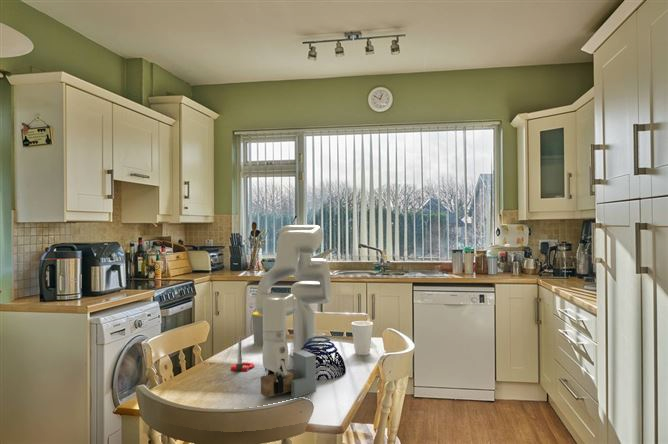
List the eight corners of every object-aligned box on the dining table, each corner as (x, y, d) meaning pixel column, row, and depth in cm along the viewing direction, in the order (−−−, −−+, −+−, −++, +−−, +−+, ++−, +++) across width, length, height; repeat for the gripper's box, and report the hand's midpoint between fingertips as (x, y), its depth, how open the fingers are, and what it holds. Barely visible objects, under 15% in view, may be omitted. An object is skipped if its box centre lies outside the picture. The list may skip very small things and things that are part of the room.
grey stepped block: (279, 389, 153) (279, 353, 153) (301, 383, 158) (301, 349, 158) (294, 397, 145) (294, 360, 145) (317, 391, 151) (317, 355, 151)
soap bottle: (284, 341, 218) (284, 297, 219) (272, 348, 206) (272, 301, 206) (260, 339, 222) (259, 296, 223) (247, 346, 210) (247, 300, 210)
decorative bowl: (340, 362, 183) (340, 327, 183) (350, 378, 163) (350, 339, 164) (291, 365, 180) (291, 329, 180) (295, 382, 160) (295, 341, 160)
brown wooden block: (292, 385, 153) (292, 368, 153) (299, 388, 150) (299, 371, 150) (260, 393, 145) (260, 376, 146) (266, 397, 142) (266, 379, 142)
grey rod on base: (237, 364, 183) (228, 370, 173) (237, 332, 183) (228, 336, 174) (256, 365, 181) (249, 371, 172) (257, 333, 182) (249, 337, 173)
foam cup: (353, 349, 202) (352, 320, 202) (373, 350, 200) (373, 321, 201) (350, 355, 192) (350, 325, 193) (372, 356, 191) (371, 325, 191)
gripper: (298, 338, 142) (298, 396, 142) (272, 328, 155) (272, 382, 155) (277, 341, 138) (277, 402, 137) (252, 332, 151) (252, 386, 151)
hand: (275, 390), depth 146 cm, fingers closed on brown wooden block, 4 cm apart
